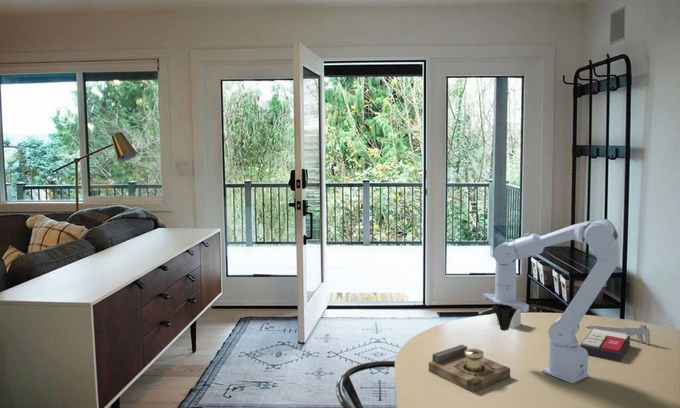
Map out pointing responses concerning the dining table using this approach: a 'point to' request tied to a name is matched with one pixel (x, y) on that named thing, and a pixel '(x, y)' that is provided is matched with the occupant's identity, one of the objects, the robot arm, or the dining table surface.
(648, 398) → the dining table surface
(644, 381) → the dining table surface
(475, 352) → the bushing
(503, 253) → the robot arm
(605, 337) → the printed card box
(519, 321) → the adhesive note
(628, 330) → the caliper
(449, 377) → the jig
